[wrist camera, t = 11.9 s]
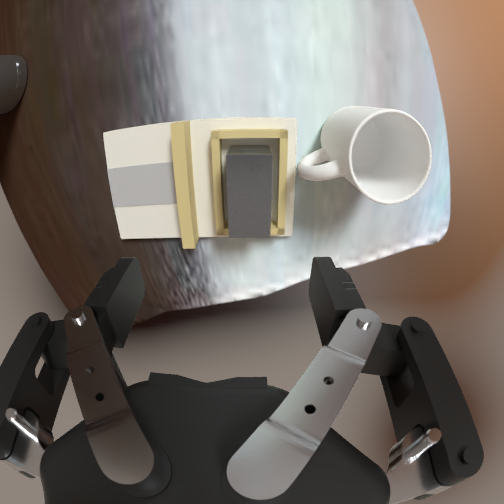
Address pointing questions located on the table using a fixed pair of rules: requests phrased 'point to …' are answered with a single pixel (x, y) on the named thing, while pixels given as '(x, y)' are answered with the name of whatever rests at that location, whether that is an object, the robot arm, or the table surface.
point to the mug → (372, 153)
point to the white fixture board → (193, 175)
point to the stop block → (249, 190)
